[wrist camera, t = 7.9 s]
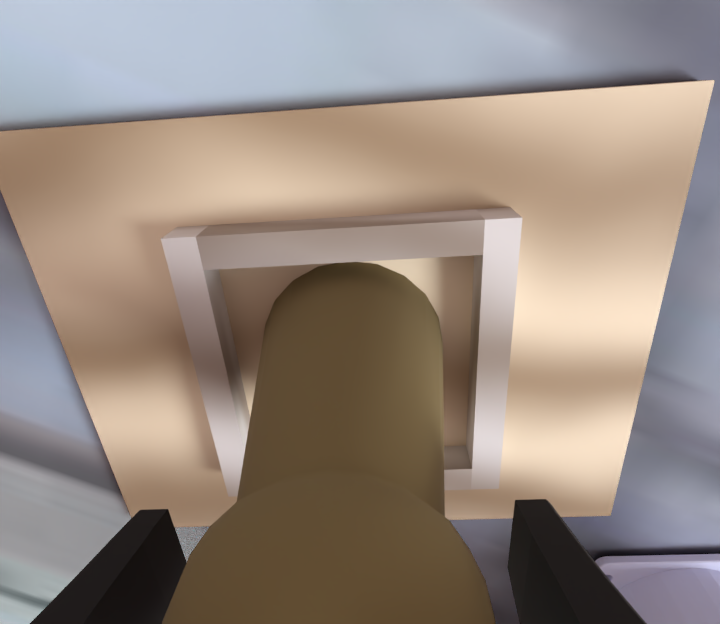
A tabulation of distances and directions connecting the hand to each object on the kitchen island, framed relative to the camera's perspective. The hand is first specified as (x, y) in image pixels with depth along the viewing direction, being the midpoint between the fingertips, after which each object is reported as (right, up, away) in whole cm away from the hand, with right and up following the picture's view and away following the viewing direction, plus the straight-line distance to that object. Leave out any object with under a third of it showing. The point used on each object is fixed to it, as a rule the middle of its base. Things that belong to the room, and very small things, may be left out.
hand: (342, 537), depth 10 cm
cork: (0, +4, +6) cm, 7 cm away
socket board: (0, +3, +7) cm, 8 cm away
